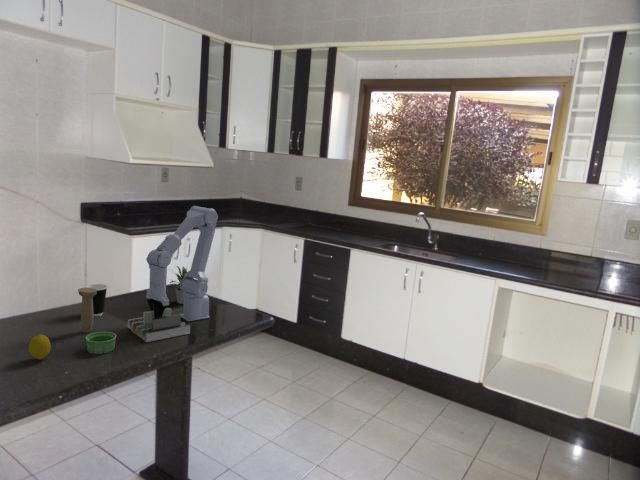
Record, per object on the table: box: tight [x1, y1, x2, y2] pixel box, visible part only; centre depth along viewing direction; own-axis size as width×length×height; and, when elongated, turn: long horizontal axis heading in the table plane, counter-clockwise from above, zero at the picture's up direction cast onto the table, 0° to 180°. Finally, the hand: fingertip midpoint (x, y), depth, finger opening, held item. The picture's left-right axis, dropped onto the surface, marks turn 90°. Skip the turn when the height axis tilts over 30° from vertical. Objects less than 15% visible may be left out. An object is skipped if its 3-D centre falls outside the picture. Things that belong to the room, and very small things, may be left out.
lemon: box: [28, 333, 52, 361], centre depth 139 cm, size 6×6×8 cm
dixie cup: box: [84, 283, 108, 317], centre depth 179 cm, size 8×8×11 cm
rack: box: [127, 313, 191, 343], centre depth 169 cm, size 16×16×7 cm
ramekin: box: [84, 331, 117, 355], centre depth 150 cm, size 9×9×4 cm
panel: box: [142, 307, 173, 325], centre depth 170 cm, size 10×2×6 cm, turn 133°
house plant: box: [168, 265, 188, 305], centre depth 202 cm, size 14×14×16 cm
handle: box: [77, 287, 97, 334], centre depth 162 cm, size 5×6×15 cm
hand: (156, 319), depth 170 cm, fingers closed on panel, 2 cm apart
